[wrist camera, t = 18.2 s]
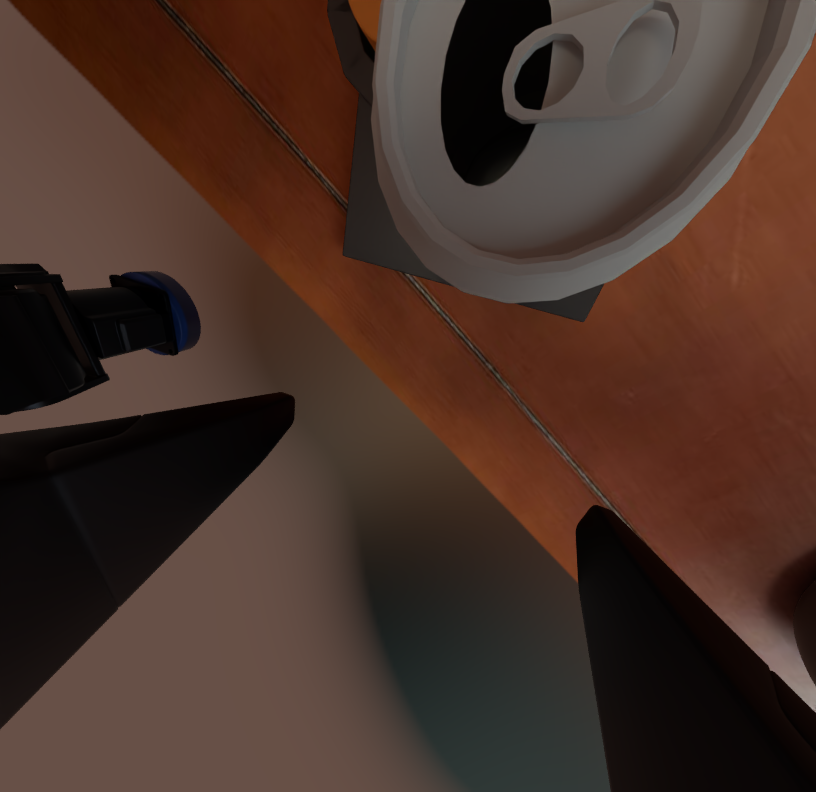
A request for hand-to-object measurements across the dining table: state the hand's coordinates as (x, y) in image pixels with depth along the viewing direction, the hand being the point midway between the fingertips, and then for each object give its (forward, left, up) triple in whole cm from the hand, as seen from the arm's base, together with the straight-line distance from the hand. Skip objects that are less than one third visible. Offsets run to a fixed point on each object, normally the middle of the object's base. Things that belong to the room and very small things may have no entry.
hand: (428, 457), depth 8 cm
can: (0, +8, -12) cm, 14 cm away
